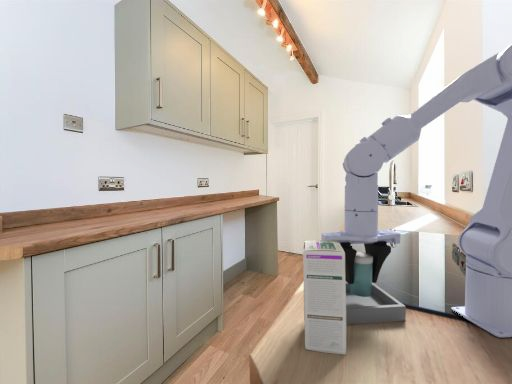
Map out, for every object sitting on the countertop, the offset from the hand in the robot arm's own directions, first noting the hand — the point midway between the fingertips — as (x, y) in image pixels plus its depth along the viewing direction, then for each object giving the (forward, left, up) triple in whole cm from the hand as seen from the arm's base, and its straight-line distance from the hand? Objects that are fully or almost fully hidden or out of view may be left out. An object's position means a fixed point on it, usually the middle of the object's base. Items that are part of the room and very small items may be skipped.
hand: (360, 281), depth 44 cm
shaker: (0, 0, -2) cm, 2 cm away
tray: (0, 0, -5) cm, 5 cm away
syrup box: (+10, +9, -5) cm, 14 cm away
